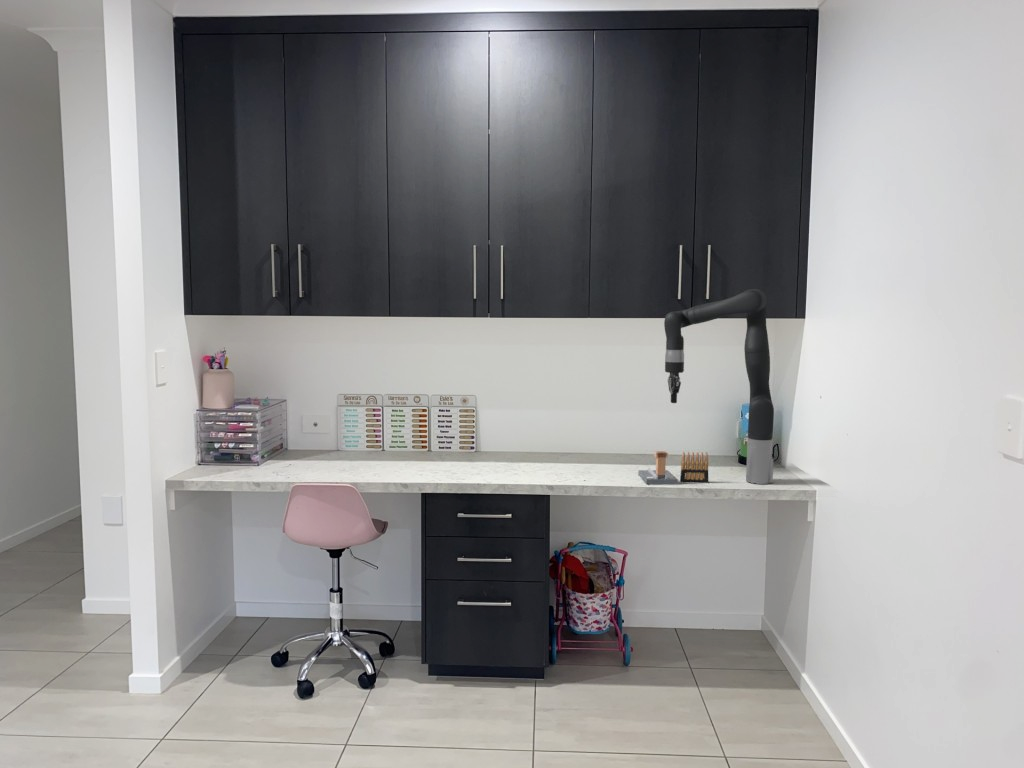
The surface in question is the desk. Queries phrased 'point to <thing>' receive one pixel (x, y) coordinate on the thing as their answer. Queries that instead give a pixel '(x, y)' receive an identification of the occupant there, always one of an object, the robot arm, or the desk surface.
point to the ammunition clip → (694, 469)
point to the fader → (660, 463)
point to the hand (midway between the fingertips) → (673, 402)
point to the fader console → (652, 478)
